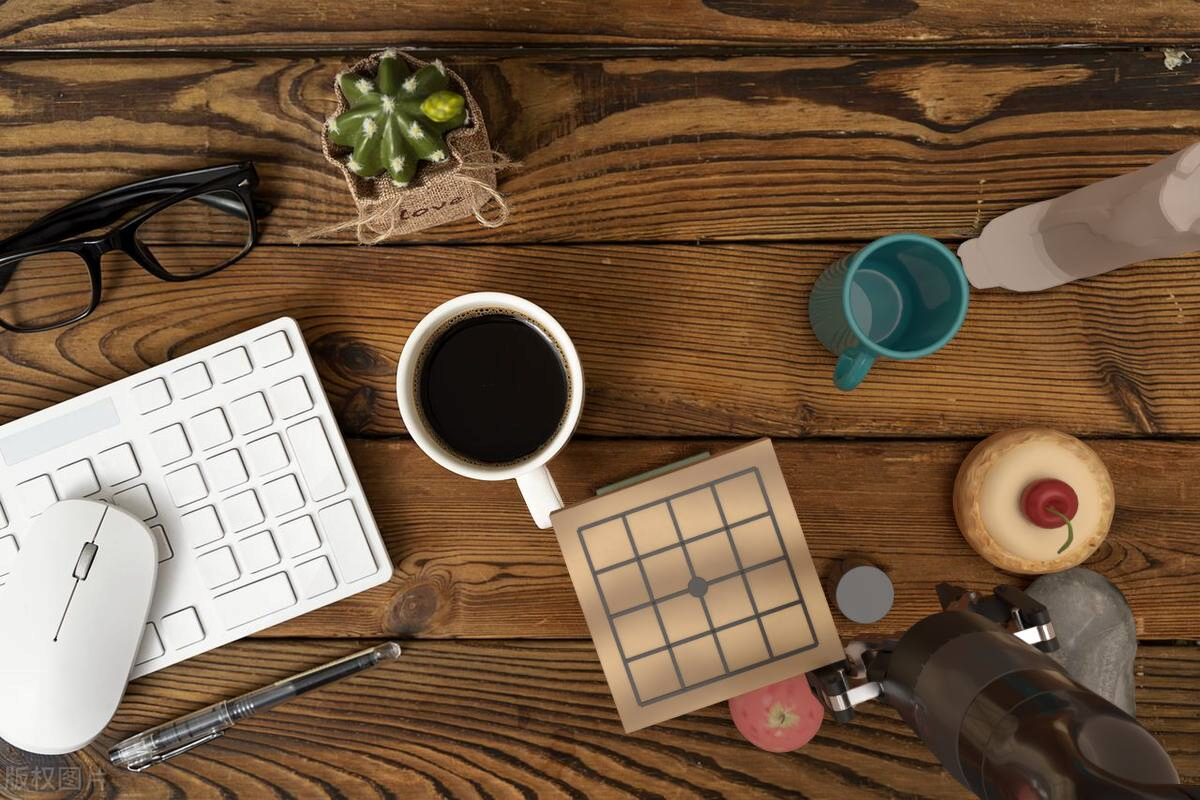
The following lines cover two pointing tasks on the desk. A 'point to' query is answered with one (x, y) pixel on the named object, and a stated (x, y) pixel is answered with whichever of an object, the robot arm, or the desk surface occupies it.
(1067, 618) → the stone
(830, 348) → the cup
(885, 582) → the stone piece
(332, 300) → the desk surface
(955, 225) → the desk surface
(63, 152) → the desk surface
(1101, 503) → the pastry
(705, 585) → the board
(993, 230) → the beige tapered piece
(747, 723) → the apple
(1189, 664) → the desk surface
